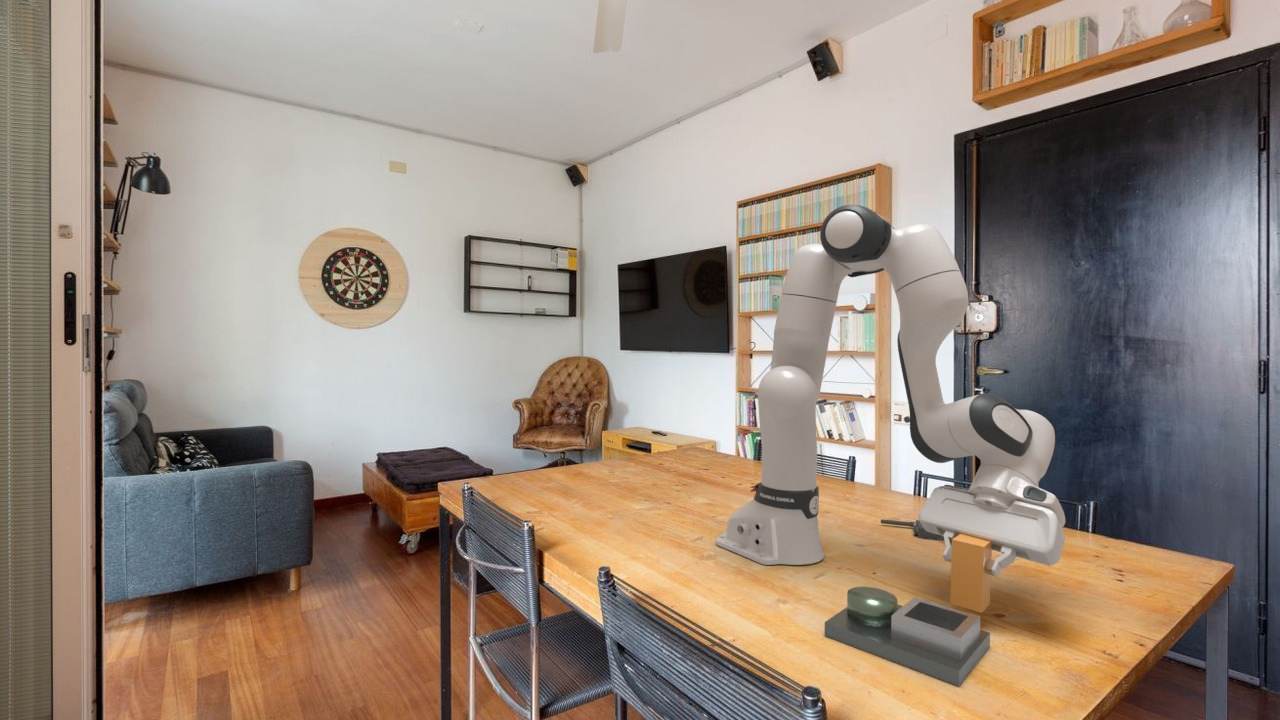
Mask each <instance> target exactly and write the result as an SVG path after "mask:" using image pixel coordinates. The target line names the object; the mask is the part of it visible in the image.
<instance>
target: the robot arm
mask: <svg viewBox="0 0 1280 720" xmlns="http://www.w3.org/2000/svg"><path fill="white" fill-rule="evenodd" d="M819 235H820V236H819V238H820V243H810V244H805V245H803V246H800V247H799V248H798V249H797V250H796V251H795V252H794V254H793V256H792V259H791V260H790V263H789V267H788V269H787V272H786V274H785V275H786V276H785V278H784V282H783V284H782V285H783V286H782V290H781V295H780V298H779V299H780V300H779V305H778V310H777V314H776V320H775V325H774V330H773V345H772V352H771V353H772V354H771V362H770V369H769V371H768V372H766V373H765V374H764V376H763V377H762V378H761V380H760V382H759V385H758V390H757V397H758V398H757V399H758V419H759V430H760V431H759V432H760V437H761V482H759V483H756V484H755V485H753V486H752V485H751V486H750V487H749V488H750V493H752V492H753V493H754V492H755V494H754V496H753V499H752V500H750V501H749V502H748V503H746V504H744V505H743V506H741V507H740V508H738V509H737V510H736V511H734V512H732V514H731V515H730V516H729V519H728V522H727V528H726V532H723V533H721V534H720V535H718V536H717V538H716V540H715V545H716V546H718V547H721V548H723V549H725V550H728V551H731V552H732V553H735V554H737V555H740V556H742V557H745V558H747V559H749V560H751V561H754V562H756V563H758V564H761V565H767V566H771V565H789V566H793V565H794V566H801V565H802V566H803V565H804V566H805V565H812V564H815V563H818V562H820V561H822V560H823V559H824V558H825V553H824V550H823V547H822V541H821V536H820V532H819V531H820V530H819V523H818V521H819V520H818V515H819V508H820V506H819V505H820V499H819V498H820V495H819V493H820V492H819V491H820V489H819V486H817V482H818V481H817V480H818V479H817V477H818V473H817V472H818V471H817V470H818V444H817V443H818V442H817V419H816V418H817V416H816V415H817V413H816V409H817V408H816V406H817V405H816V404H817V402H818V401H819V397H820V394H821V390H822V389H821V388H822V382H823V377H824V372H825V368H826V362H827V361H826V360H827V355H828V349H829V343H830V336H831V333H832V332H831V331H832V327H833V321H834V317H835V312H836V309H837V308H836V307H837V303H838V298H839V292H840V288H841V284H842V282H843V281H844V279H845V277H847V276H848V277H850V278H856V277H861V276H866V275H873V274H877V273H881V272H883V271H885V272H886V273H887V275H888V277H889V280H890V282H891V284H892V287H893V290H894V293H895V297H896V299H897V304H898V308H899V330H898V334H897V343H896V344H897V351H898V357H899V362H900V363H899V364H900V368H901V373H902V377H903V382H904V387H905V393H906V399H907V403H908V409H909V433H910V438H911V441H912V444H913V446H914V447H915V449H916V450H917V451H918V452H919V453H920V454H921V455H922V456H923V457H925V458H926V459H927V460H929V461H931V462H934V463H937V464H945V463H950V462H952V461H955V460H958V459H962V458H967V457H972V456H976V457H977V458H978V459H979V460H980V466H979V468H978V470H977V472H976V474H975V476H974V478H973V480H972V482H971V484H970V486H969V488H966V487H960V486H955V485H954V486H953V485H951V484H944V485H942V486H938V487H934V488H933V489H932V492H931V494H930V496H929V497H928V499H927V500H926V502H924V504H923V505H922V507H921V509H920V511H919V513H918V516H917V517H918V520H919V521H920V523H921V525H922V526H923V528H924V529H925V530H926V531H927V532H930V533H934V534H937V535H941V536H944V540H945V541H944V545H945V549H944V551H943V553H942V557H943V560H944V561H946V562H949V563H951V557H952V539H954V538H955V537H957V536H958V535H960V534H965V535H969V536H973V537H977V538H980V539H984V540H988V541H992V551H994V552H999V553H1001V554H1000V555H999V556H998V557H996V558H995V559H994V560H993V559H991V560H990V559H988V561H987V565H985V571H986V573H987V574H989V575H991V577H992V576H993V577H997V578H999V577H1000V574H1001V571H1003V569H1005V568H1006V567H1008V566H1010V565H1011V564H1013V563H1015V561H1016V558H1019V559H1024V560H1027V561H1031V562H1034V563H1037V564H1041V565H1045V566H1048V567H1049V566H1054V565H1055V564H1058V563H1059V562H1060V560H1061V557H1062V553H1063V550H1064V546H1065V545H1064V544H1065V540H1066V539H1065V537H1066V535H1065V532H1064V530H1063V528H1064V526H1065V524H1066V516H1065V512H1064V509H1063V507H1062V505H1061V503H1060V501H1059V500H1058V497H1057V496H1056V495H1055V494H1053V493H1052V492H1049V491H1047V490H1045V489H1043V488H1040V487H1039V482H1040V480H1041V479H1042V478H1043V477H1044V476H1045V475H1046V473H1047V471H1048V468H1049V465H1050V463H1051V460H1052V457H1053V455H1054V449H1055V444H1056V434H1055V429H1054V426H1053V425H1052V423H1051V422H1050V421H1049V420H1048V419H1047V418H1046V417H1045V416H1043V415H1041V414H1039V413H1037V412H1036V411H1032V410H1029V409H1018V408H1015V407H1014V406H1013V405H1012V404H1010V403H1009V402H1008V401H1007V400H1005V399H1003V398H1002V397H1001V396H998V395H996V394H993V393H990V392H989V393H980V394H976V395H972V396H968V397H965V398H962V399H959V400H956V401H952V402H949V403H945V401H944V398H943V394H942V389H941V383H940V379H939V374H938V369H937V363H936V362H937V361H936V359H937V355H938V352H939V349H940V347H941V345H942V344H943V342H944V341H945V340H946V338H947V337H948V336H949V335H950V333H952V331H954V329H955V328H957V327H958V325H960V323H961V322H962V321H963V318H964V317H965V315H966V312H967V310H968V307H969V292H968V289H967V285H966V284H967V283H966V282H965V279H964V278H963V275H962V272H961V269H960V268H959V264H958V262H957V260H956V258H955V256H954V254H953V251H952V250H951V248H950V246H949V244H947V242H946V240H945V238H944V237H943V235H942V234H941V232H940V231H939V230H938V229H937V228H936V227H935V226H933V225H930V224H927V223H925V224H924V223H918V224H912V225H908V226H906V227H904V228H900V229H895V228H894V226H892V225H891V223H890V222H889V221H888V220H887V219H886V218H884V217H883V216H882V215H880V214H879V213H876V212H875V211H874V210H873V209H870V208H869V207H866V206H863V205H859V204H846V205H841V206H839V207H836V208H834V209H833V210H832V211H831V212H830V213H828V215H827V216H826V218H824V221H823V222H822V224H821V228H820V233H819Z"/></svg>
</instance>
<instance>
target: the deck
mask: <svg viewBox="0 0 1280 720" xmlns="http://www.w3.org/2000/svg"><path fill="white" fill-rule="evenodd" d="M846 595H847V601H846V603H847V605H846V607H845V608H843V609H842V610H841V611H839V612H837V613H836V614H834V615H833V616H831V617H829V618H828V619H827V620H826V621H824V636H825V637H827V638H830V639H832V640H835V641H838V642H840V643H842V644H845V645H848V646H851V647H854V648H856V649H859V650H862V651H864V652H867V653H870V654H872V655H874V656H878V657H880V658H882V659H885V660H887V661H889V662H890V661H891V662H894V663H896V664H898V665H901V666H904V667H906V668H909V669H911V670H914V671H916V672H920V673H922V674H925V675H927V676H930V677H933V678H935V679H938V680H941V681H943V682H946V683H949V684H950V685H954V686H956V687H960V686H961V685H962V684H963V683H964V681H965V680H966V679H967V677H968V676H969V675H970V673H971V672H972V670H974V668H975V667H976V665H977V664H978V663H979V662H980V660H981V659H982V658H983V656H984V655H985V654H986V653H987V652H988V651H989V649H990V647H991V632H989V631H985V630H983V629H981V620H982V619H981V615H978V614H974V613H971V612H967V611H964V610H960V609H957V608H954V607H950V606H947V605H944V604H939V603H937V602H935V601H934V602H933V601H930V600H926V599H923V598H920V597H916V596H914V597H913V598H911V599H910V600H909V601H908V602H906V603H905V604H904V605H901V604H899V603H898V598H897V597H896V596H895V595H894V594H892V593H891V592H890V591H887V590H884V589H880V588H877V587H871V586H856V587H852V588H849V589H848V591H847V592H846Z"/></svg>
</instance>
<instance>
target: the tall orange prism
mask: <svg viewBox="0 0 1280 720" xmlns="http://www.w3.org/2000/svg"><path fill="white" fill-rule="evenodd" d="M992 554H993V550H992V541H988V540H984V539H980V538H977V537H973V536H969V535H965V534H960V535H958V536H957V537H955V538H954V539H952V557H951V562H950V565H951V567H950V588H949V593H950V594H949V604H951V605H955V606H958V607H961V608H964V609H967V610H972V611H975V612H978V613H983V612H984V611H985V610H987V607H989V606H990V604H991V577H992V575H989V574H987V573H986V571H985V565H987V561H988V559H990V560H992Z"/></svg>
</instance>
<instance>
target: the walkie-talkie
mask: <svg viewBox="0 0 1280 720" xmlns="http://www.w3.org/2000/svg"><path fill="white" fill-rule="evenodd" d="M880 524H883V525H885V524H886V525H894V526H902V527H910V528H912V530H913V535H914V536H917V538H918V539H923V540H931V541H939V542H945V540H944V536H941V535H937V534H934V533H930V532H927V531H926V530H925V529H924V528H923V526H922V525H921V523H920V521H919V519H916V520H915V521H904V520H903V521H902V520H894V519H880Z"/></svg>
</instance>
